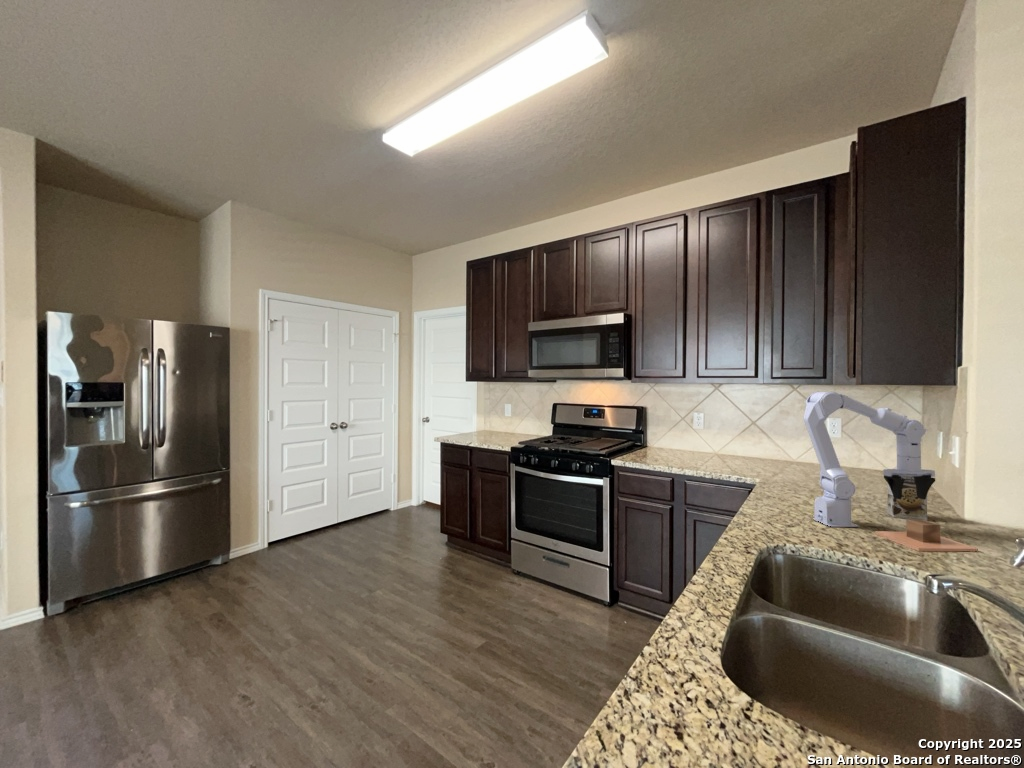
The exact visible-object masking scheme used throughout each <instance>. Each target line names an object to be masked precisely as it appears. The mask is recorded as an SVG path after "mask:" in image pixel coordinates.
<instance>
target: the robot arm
mask: <svg viewBox="0 0 1024 768" xmlns="http://www.w3.org/2000/svg"><path fill="white" fill-rule="evenodd" d="M805 404H806V405H805V406H806V407H805V410H804V414H803V422H804V424H805V426H806V430H807V433H808V436H809V438H810V442H811V444H812V447H813V450H814V452H815V455H816V458H817V461H818V463H819V466H820V471H818V472H819V473H818V474H819V476H820V479H819V485H820V487H821V489H822V490H823V495H822V496H817V497H815V500H814V517H813V518H812V520H813V519H814V520H813V521H816V522H818V521H819V522H818V523H820V522H821V524H822V523H823V525H825V526H827V525H828V526H827V527H830V526H831V527H833V528H834V527H835V528H839V527H841V528H842V527H843V528H844V527H845V528H847V527H849V528H851V527H852V528H853V527H854V528H859V526H860V525H858V524H856V523H853V522H852V497H853V496H854V495H855V493H856V486H855V484H854V482H853V481H852V480H850V479H849V476H848V473H847V472H845V470H844V469H843V468H842V467H841V464H840V461H839V459H838V456H837V453H836V451H835V447H834V446H833V442H832V440H831V436H830V434H829V430H828V429H827V426H826V423H825V422H826V420H827V419H828V417H830V416H831V415H832V414H833V413H835V412H836V411H838V410H839V409H846V410H849V411H851V412H852V413H853V412H854V413H856V414H859V415H862V416H864V417H866V418H869V420H870V422H871V424H873V425H876V426H878V427H881V428H884V429H886V430H888V431H891V432H892V433H893V434H894V435H895V436H896V439H895V440H896V468H886V469H883V479H884V480H885V481H886V482H887V485H888V484H889V486H890V489H891V491H892V494H893V497H894V498H896V499H901V498H902V488H903V484H904V481H905V479H902V478H900V477H899V476H913V478H914V481H915V484H916V492H917V498H920V499H923V500H925V499H926V496H927V497H928V493H929V490H930V489H931V487H932V486H933V485H934V483H935V482H936V478H935V477H936V473H935V472H936V471H935V470H932V469H922V443H921V442H922V440H923V439H922V437H923V436H924V435H926V432H927V429H926V428H925V427H924V425H923V424H922V422H921V421H919V420H916V419H908V416H907V415H905V414H898V413H896V412H894V411H892V409H891V408H889V407H884V408H883V407H880V408H874V407H872V406H870V405H868V404H865V403H864V402H860V401H858V400H856V399H854V398H852V397H850V396H847V395H845V394H842V393H838V392H836V391H814V392H812V393H811V394H810V395H809V396H808V397H807V398H806V400H805Z"/></svg>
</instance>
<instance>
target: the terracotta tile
mask: <svg viewBox="0 0 1024 768" xmlns="http://www.w3.org/2000/svg"><path fill="white" fill-rule="evenodd" d="M874 533H875V535H877V536H880V537H881V538H885V539H886V540H890V541H893V542H895V543H897V544H899V545H903V546H905V547H907V548H910V549H913V550H915V551H917V552H956V551H970V552H969V553H971V552H973V553H976V552H975V551H977V553H978V552H979V548H977V547H974V546H971V545H968V544H965V543H963V542H959V541H957V540H953V539H950V538H948V537H945V536H942V535H941V543H929V542H920V541H918V540H915V539H912V538H910V537H907V531H900V530H899V531H889V530H888V531H887V530H886V531H885V530H883V531H880V530H875V531H874Z"/></svg>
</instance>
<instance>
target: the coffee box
mask: <svg viewBox="0 0 1024 768" xmlns="http://www.w3.org/2000/svg"><path fill="white" fill-rule="evenodd" d="M899 477H900V478H902V479H905V481H904V484H903V488H902V498H901V499H896V498H894V497H893V494H892V491H891V489H890V486H889V484H888V483H887V501H886V503H887V506H886V508H887V514H888V515H890V517H892V518H894V519H895V518H896V519H897V518H898V519H905V520H926V521H928V495H927V496H926V499H925V500H923V499H920V498H917V492H916V484H915V481H914V478H913V476H899Z"/></svg>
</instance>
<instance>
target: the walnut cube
mask: <svg viewBox="0 0 1024 768" xmlns="http://www.w3.org/2000/svg"><path fill="white" fill-rule="evenodd" d="M905 523H906V527H905V528H906V532H907V537H910V538H912V539H915V540H918V541H920V542H929V543H941V536H942V535H941V524H939V523H935V522H933V521H929V520H927V521H926V520H913V519H905Z"/></svg>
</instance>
